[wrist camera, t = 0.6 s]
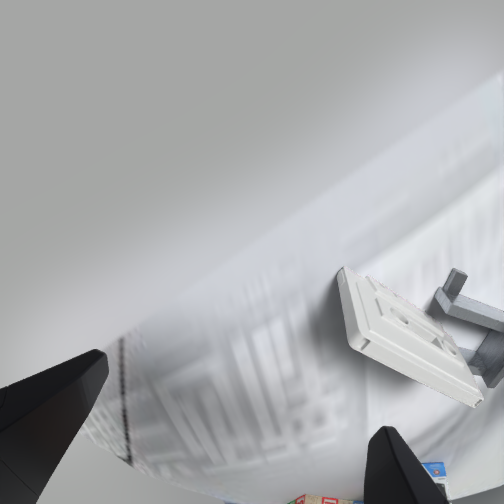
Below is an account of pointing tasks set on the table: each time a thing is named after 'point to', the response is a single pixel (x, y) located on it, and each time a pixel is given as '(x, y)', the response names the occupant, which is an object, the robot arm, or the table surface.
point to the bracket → (499, 338)
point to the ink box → (439, 477)
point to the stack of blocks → (321, 500)
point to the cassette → (403, 337)
